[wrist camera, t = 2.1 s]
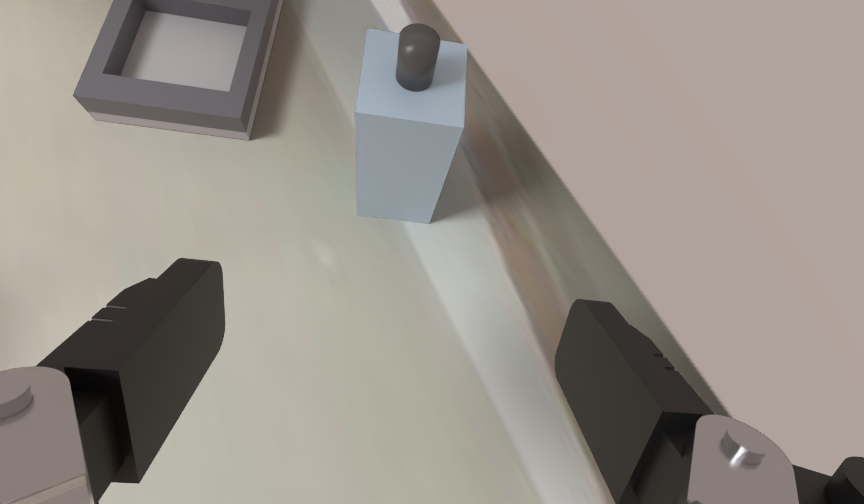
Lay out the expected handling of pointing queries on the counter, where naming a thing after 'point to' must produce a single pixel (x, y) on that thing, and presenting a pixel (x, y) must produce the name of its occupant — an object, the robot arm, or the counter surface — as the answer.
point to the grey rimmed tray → (181, 64)
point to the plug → (407, 121)
